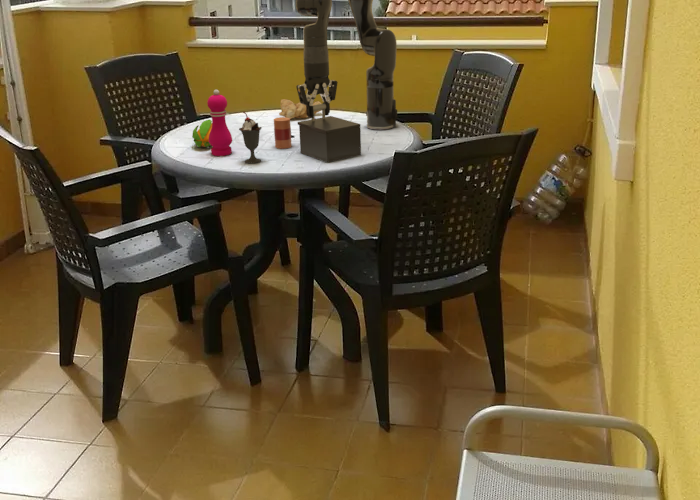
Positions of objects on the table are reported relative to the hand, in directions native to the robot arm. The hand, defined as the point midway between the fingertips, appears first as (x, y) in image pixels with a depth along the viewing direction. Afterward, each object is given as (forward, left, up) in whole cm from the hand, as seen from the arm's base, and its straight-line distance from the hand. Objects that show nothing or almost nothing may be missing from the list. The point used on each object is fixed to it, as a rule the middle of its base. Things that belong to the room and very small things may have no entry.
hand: (318, 116), depth 251 cm
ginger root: (-7, -49, -11) cm, 51 cm away
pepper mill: (+29, -9, -11) cm, 33 cm away
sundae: (+22, +4, -11) cm, 25 cm away
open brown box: (-2, +6, -11) cm, 12 cm away
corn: (+31, -24, -11) cm, 41 cm away
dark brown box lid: (-2, +5, -2) cm, 6 cm away
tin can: (+9, -9, -11) cm, 17 cm away
